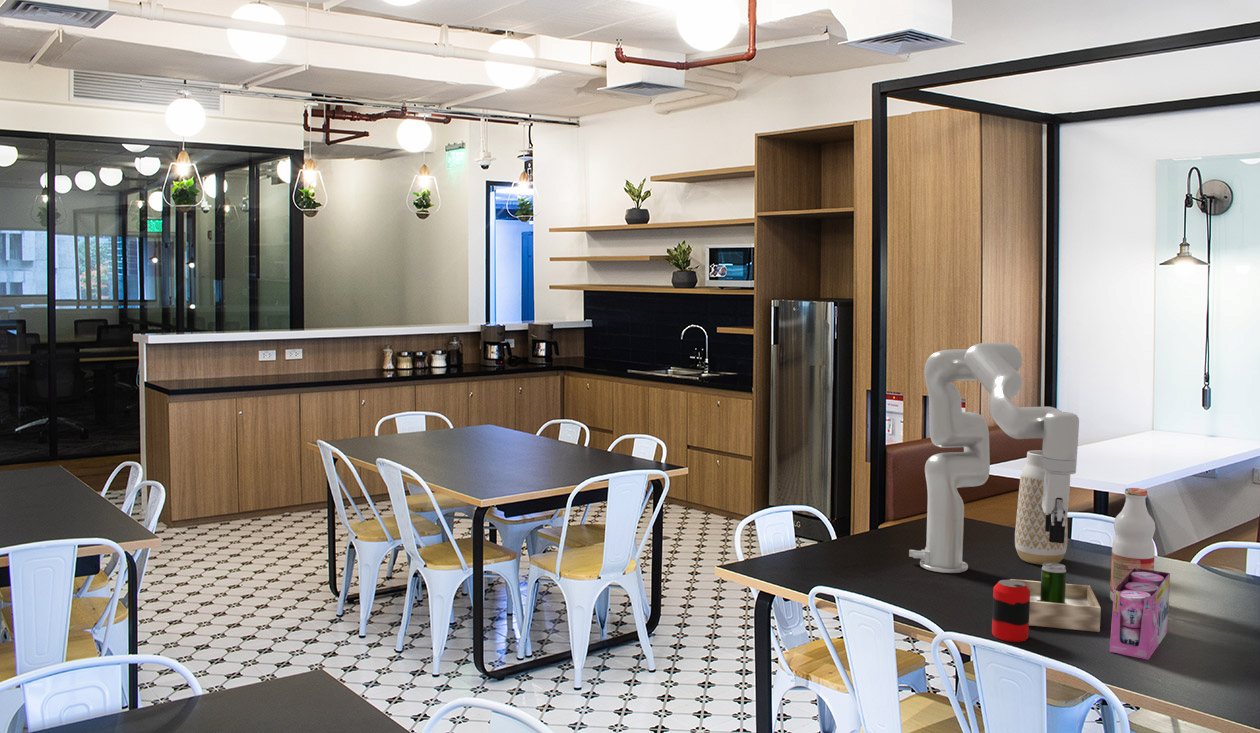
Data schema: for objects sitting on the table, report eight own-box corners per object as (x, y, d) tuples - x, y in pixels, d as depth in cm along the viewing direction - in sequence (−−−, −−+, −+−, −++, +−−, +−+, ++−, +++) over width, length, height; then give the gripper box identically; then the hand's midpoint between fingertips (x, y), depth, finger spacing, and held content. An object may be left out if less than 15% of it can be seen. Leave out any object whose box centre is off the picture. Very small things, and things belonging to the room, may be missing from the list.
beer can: (1055, 620, 241) (1057, 569, 240) (1034, 614, 246) (1036, 564, 245) (1069, 616, 244) (1071, 566, 243) (1048, 610, 249) (1050, 561, 248)
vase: (1076, 562, 292) (1081, 454, 289) (1047, 570, 284) (1051, 458, 281) (1033, 551, 303) (1037, 447, 300) (1003, 558, 295) (1007, 451, 293)
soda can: (1009, 644, 225) (1011, 589, 224) (984, 633, 232) (986, 580, 231) (1035, 639, 228) (1038, 586, 227) (1010, 629, 235) (1012, 577, 234)
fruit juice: (1107, 594, 262) (1112, 484, 259) (1148, 598, 259) (1154, 487, 257) (1112, 605, 253) (1117, 491, 251) (1155, 609, 250) (1161, 494, 248)
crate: (1014, 623, 239) (1015, 600, 238) (1009, 600, 256) (1010, 578, 255) (1099, 631, 234) (1100, 607, 233) (1089, 608, 251) (1089, 585, 250)
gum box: (1148, 662, 215) (1151, 598, 214) (1107, 654, 220) (1110, 591, 219) (1168, 631, 234) (1171, 572, 233) (1129, 624, 239) (1132, 566, 238)
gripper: (1038, 457, 251) (1034, 526, 253) (1044, 471, 235) (1040, 545, 237) (1071, 459, 249) (1067, 529, 251) (1080, 473, 233) (1076, 548, 234)
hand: (1054, 537), depth 244 cm, fingers open, 9 cm apart
